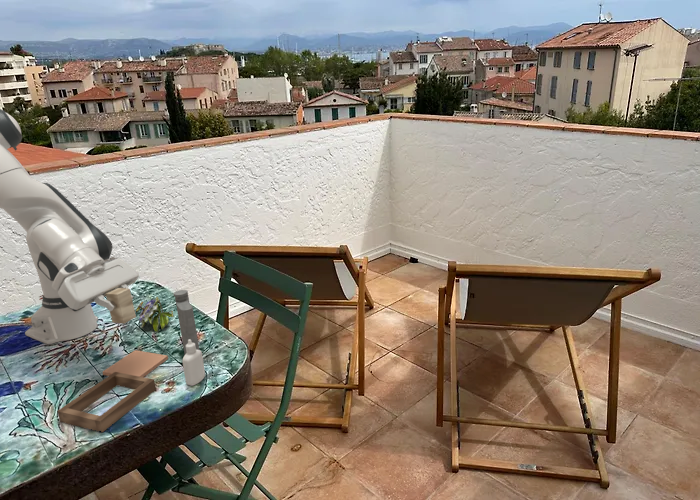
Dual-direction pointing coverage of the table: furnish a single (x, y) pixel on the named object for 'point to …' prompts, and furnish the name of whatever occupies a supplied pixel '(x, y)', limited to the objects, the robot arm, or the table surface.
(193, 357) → the eye dropper bottle
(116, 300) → the ash post
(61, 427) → the table surface
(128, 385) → the walnut stand
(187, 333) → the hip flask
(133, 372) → the terracotta tile
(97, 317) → the robot arm
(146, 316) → the passion flower
